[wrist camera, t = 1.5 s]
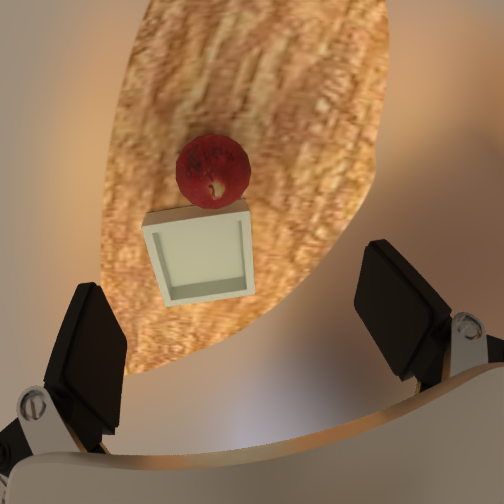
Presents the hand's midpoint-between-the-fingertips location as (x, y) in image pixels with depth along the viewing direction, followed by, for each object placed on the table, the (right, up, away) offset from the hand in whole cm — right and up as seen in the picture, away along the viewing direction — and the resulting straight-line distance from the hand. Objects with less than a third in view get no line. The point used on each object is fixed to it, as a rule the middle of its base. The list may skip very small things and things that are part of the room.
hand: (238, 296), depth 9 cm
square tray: (-5, +2, +19) cm, 20 cm away
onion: (-3, +10, +15) cm, 18 cm away
